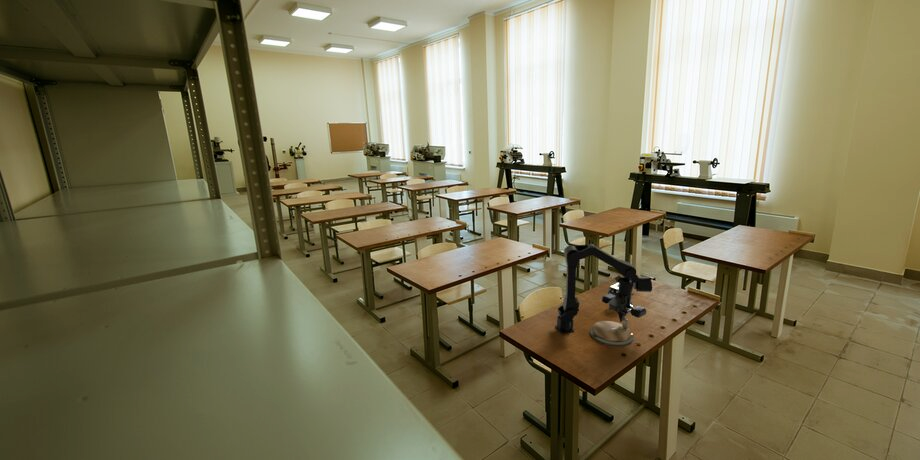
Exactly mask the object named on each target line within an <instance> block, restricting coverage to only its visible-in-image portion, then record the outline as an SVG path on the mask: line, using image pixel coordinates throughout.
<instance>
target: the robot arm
mask: <svg viewBox="0 0 920 460" xmlns="http://www.w3.org/2000/svg"><path fill="white" fill-rule="evenodd" d="M563 254H564V255H563V256H564V259H565V265H566V279H565V282H566V283H565V295H564V297H563V301H562V305H560V306H559V307H558V308H557V313H558V315H557V317H556V325H555V326H554V327H555V329H557V330H558V331H559V333H561V334H567V333H572V332H575V329H574V318H575V317H577V315H578V313H579V312H580V309H579V307H580V301H579V299H578V297H576V284H577V283H576V282H577V281H576V280H577V267H578V266H579V263H580V260H583V259H586V258H588V257H589V256H590V257H591V256H592V257H594V258H596V259H598V260H600V261H602V262H603V263H605V264H607V265H608V266H610V267H612V268H613V269H615V270H616V272H618V273H619V275H617V276H616V277H614V281H615V282H616V283H618V282H619V288H618V292H616V295H612V294H610V293H609V294H608V293H606V294H605V295H603V296H602V297H601V302H602V303H604V304H608V306H609V307H608V308H609V310H612V311H614V312H616V313H617V315H618V319H619V323H623V318H626V316H627V315H628V313H630V315H631V316H633V317H634V318H638V319H639V318H641V317H643V316H645V315H646V314H647V308H646V307H643V306H640V305H636V306H634V305H632V304H633V300H632V297H633V296H634V292H633V289H634V290H635V291H636V292H639V293H641V292H642V293H651V292H653V282H652V278H651V277H650V276H646V275H645V276H639V275H637V269H636V268H635V267H634V266H633V264H632V263H630V262H628V261H627V260H623V259H619V258H617V257H615V256H613V255H611V254H609V253H608V252H606V251H604V250H602V249H601V248H599V247H597V246H596V245H595V244H593V243H587V244H576V245H567V246H566V247H565V248H564V251H563Z"/></svg>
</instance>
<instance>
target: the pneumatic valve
mask: <svg viewBox="0 0 920 460" xmlns="http://www.w3.org/2000/svg"><path fill="white" fill-rule="evenodd" d="M618 288H619V282H616V283H615V284H613V285H610V286H609V287H608V289H609V290H608V292H607V294H609V293H610V294H612V295H616V292H618Z"/></svg>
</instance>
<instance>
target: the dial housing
mask: <svg viewBox="0 0 920 460" xmlns="http://www.w3.org/2000/svg"><path fill="white" fill-rule="evenodd" d="M589 334H590V336H591V337H592V338H593V339H594V340H595V341H597V342H599V343H600V344H604V345H609V346H616V347H618V346H619V347H622V346H628V345H629V344H631V343H632V342H634V334H633V332H632V331H631V337H630V339H629V340H627V341H624V342H610V341H606V340H603V339H600V338H599V337H597V336H596V335H595V334H594V333H593V325H591V327H590V329H589Z"/></svg>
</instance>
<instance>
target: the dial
mask: <svg viewBox="0 0 920 460" xmlns="http://www.w3.org/2000/svg"><path fill="white" fill-rule="evenodd" d="M628 325H629V319H628V318H626V317H625V318H623V321H622V323H621V322H617V321H611V320H601V321H597V322H595V323H594V324H593V325H592V326H593V333H594V334H595V335H596V336H597V337H599V338H600V339H603V340H606V341H610V342H624V341H627V340H629V339H630V337H631V332H632V331H631V329H630V328H629V327H628Z"/></svg>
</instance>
